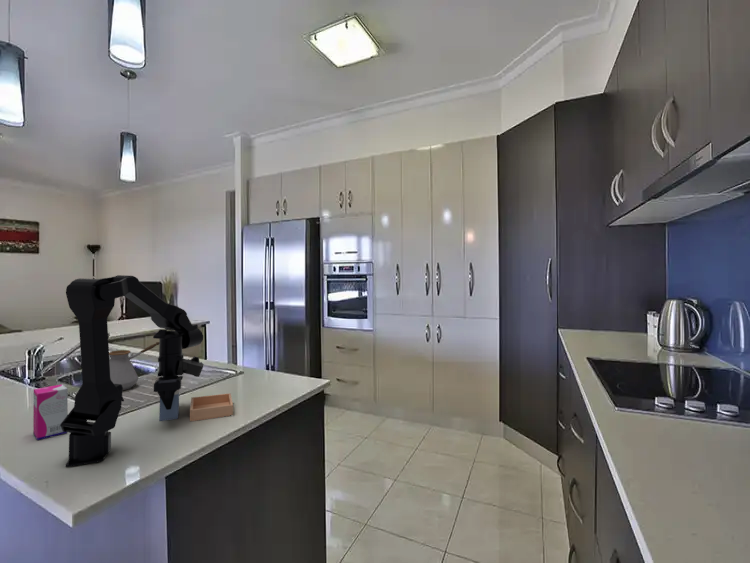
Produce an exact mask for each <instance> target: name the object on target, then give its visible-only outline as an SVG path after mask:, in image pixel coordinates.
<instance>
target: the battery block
mask: <svg viewBox="0 0 750 563" xmlns="http://www.w3.org/2000/svg"><path fill="white" fill-rule="evenodd" d="M179 411H180V389H179V390H177V391H176V392H175V394H174V398H173V402H172V407H171V409H169V410H167V409H166V408H165V406H164V404H163V402H162V400H161V398H160V397H159V412H158V413H159V417H158V418H159V419H158V420H159V422H163V421H169V420H171V421H172V420H177V419H178V418H179V413H180V412H179Z"/></svg>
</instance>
